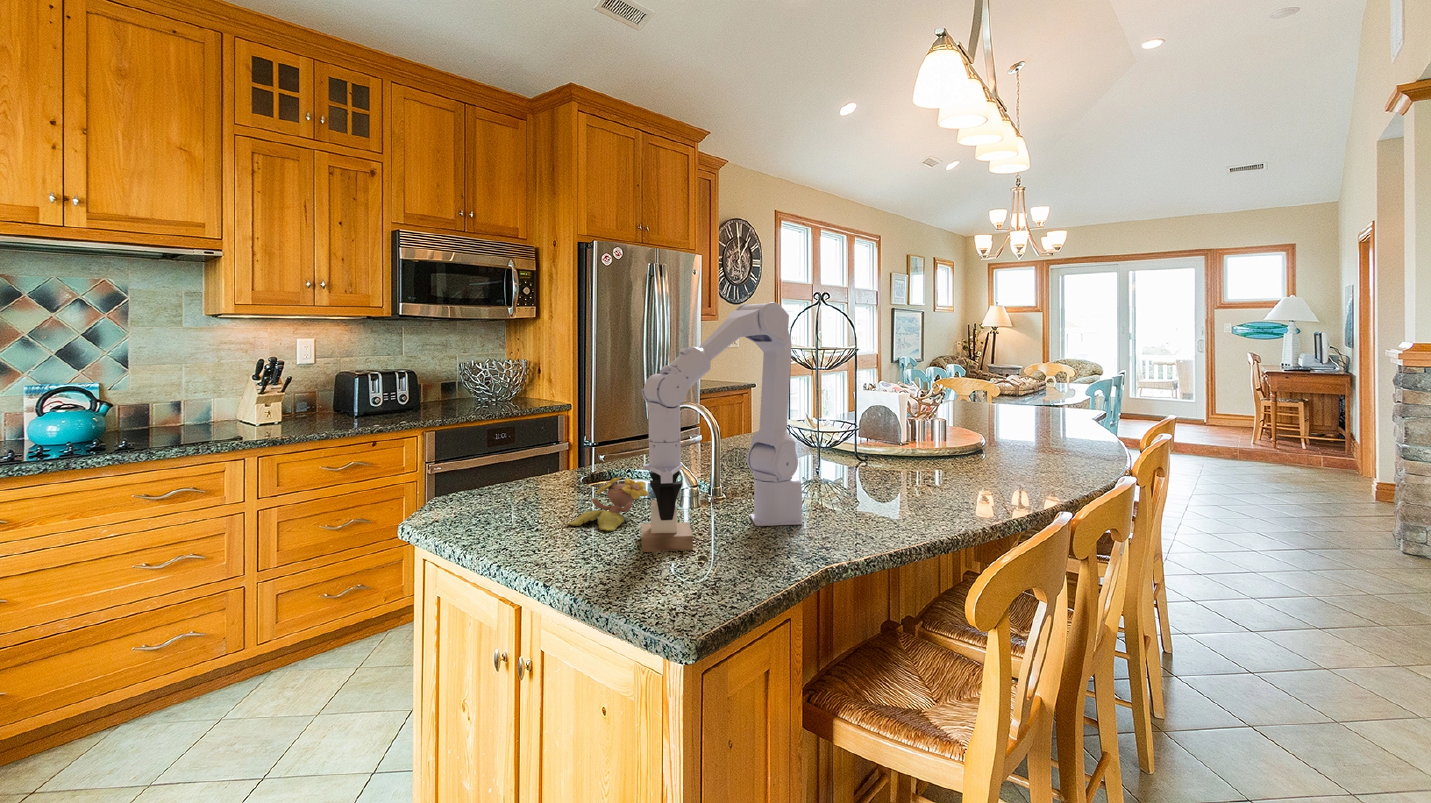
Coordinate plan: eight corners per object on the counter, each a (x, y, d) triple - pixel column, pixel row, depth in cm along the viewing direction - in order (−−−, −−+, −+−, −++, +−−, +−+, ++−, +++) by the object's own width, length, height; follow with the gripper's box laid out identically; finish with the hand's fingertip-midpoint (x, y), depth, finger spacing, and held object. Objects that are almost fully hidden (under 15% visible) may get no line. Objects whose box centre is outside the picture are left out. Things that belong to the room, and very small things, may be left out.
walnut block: (688, 537, 131) (688, 522, 131) (692, 552, 122) (692, 535, 122) (641, 539, 130) (641, 523, 130) (641, 554, 121) (641, 537, 121)
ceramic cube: (676, 525, 128) (676, 499, 128) (676, 532, 123) (676, 505, 123) (652, 526, 128) (651, 499, 127) (651, 533, 123) (650, 505, 123)
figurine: (560, 523, 137) (590, 460, 145) (583, 544, 144) (610, 483, 152) (612, 531, 132) (640, 465, 140) (632, 553, 139) (658, 489, 146)
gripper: (642, 435, 131) (643, 504, 132) (642, 447, 116) (643, 525, 118) (679, 434, 131) (680, 503, 133) (684, 446, 117) (685, 524, 118)
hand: (665, 514), depth 125 cm, fingers open, 7 cm apart
